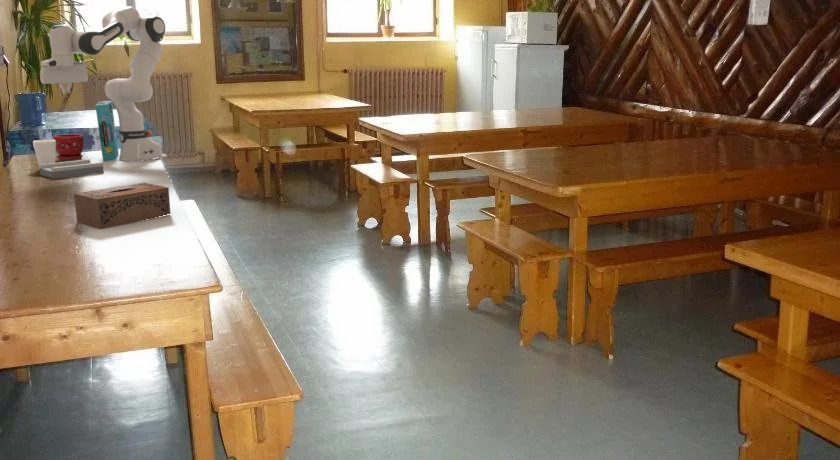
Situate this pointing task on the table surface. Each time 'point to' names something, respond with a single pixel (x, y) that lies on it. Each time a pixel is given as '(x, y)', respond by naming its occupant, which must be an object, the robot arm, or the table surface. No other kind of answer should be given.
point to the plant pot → (69, 146)
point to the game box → (107, 130)
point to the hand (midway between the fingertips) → (66, 93)
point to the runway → (70, 169)
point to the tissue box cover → (121, 205)
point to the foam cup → (45, 151)
